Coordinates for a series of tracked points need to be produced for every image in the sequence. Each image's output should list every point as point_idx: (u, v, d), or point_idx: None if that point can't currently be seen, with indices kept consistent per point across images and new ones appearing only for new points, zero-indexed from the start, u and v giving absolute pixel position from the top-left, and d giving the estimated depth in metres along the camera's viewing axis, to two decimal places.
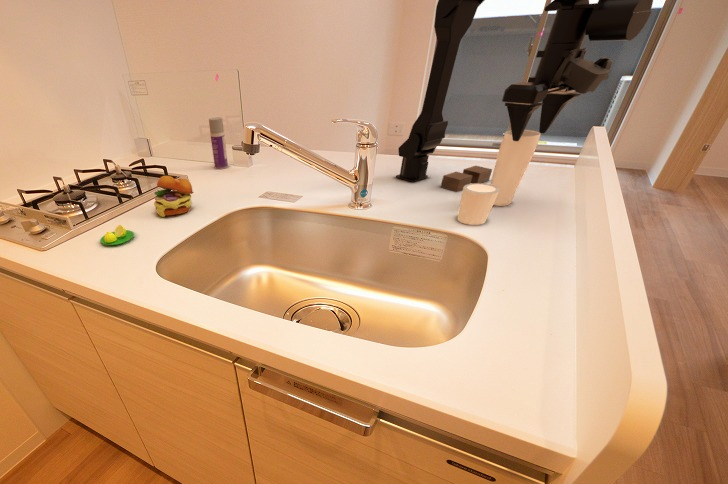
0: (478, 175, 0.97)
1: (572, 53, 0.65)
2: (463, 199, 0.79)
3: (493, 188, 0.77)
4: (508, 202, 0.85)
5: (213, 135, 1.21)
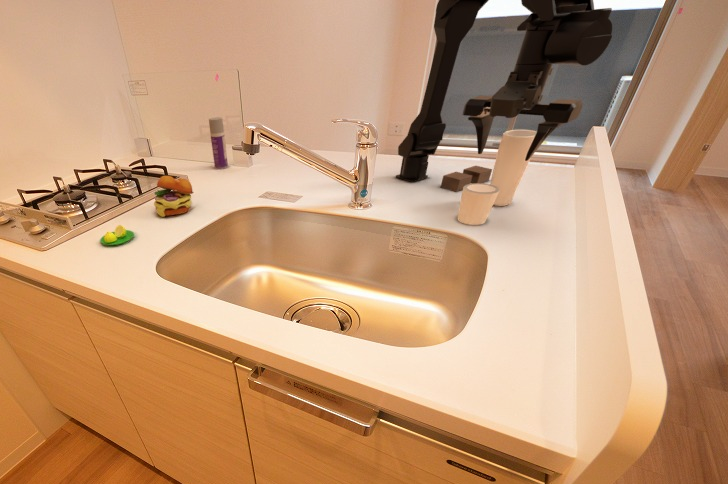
0: (478, 175, 0.97)
1: (511, 75, 0.66)
2: (463, 199, 0.79)
3: (493, 188, 0.77)
4: (508, 202, 0.85)
5: (213, 135, 1.21)
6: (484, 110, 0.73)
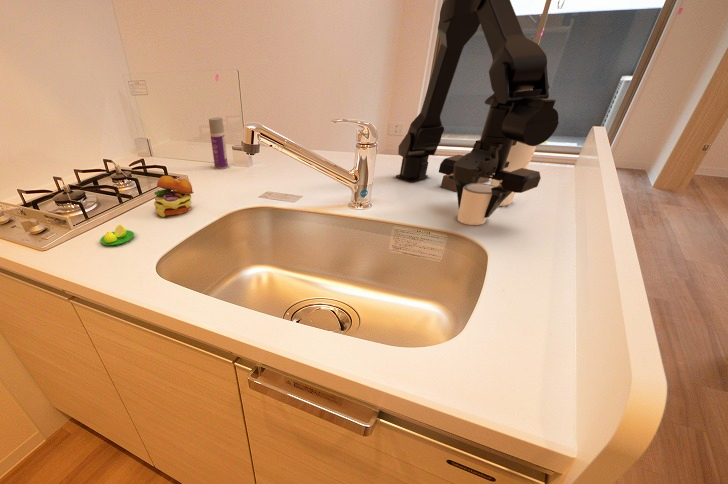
0: None
1: (476, 143, 0.72)
2: (463, 199, 0.79)
3: None
4: (508, 202, 0.85)
5: (213, 135, 1.21)
6: None
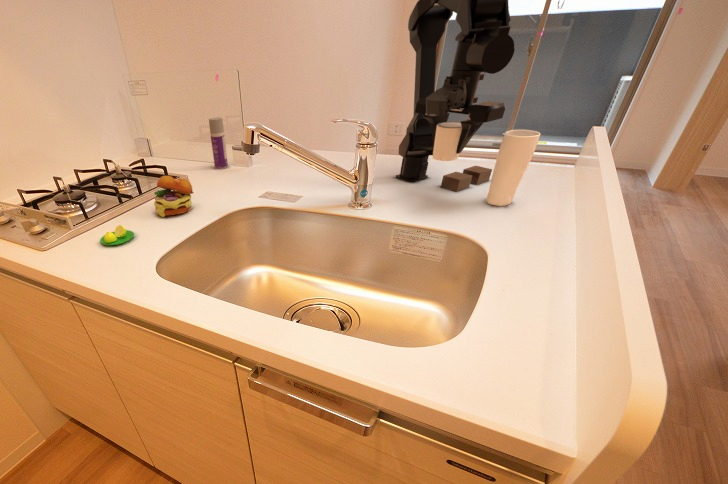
0: (478, 175, 0.97)
1: (446, 79, 0.77)
2: (436, 136, 0.84)
3: None
4: (508, 202, 0.85)
5: (213, 135, 1.21)
6: None
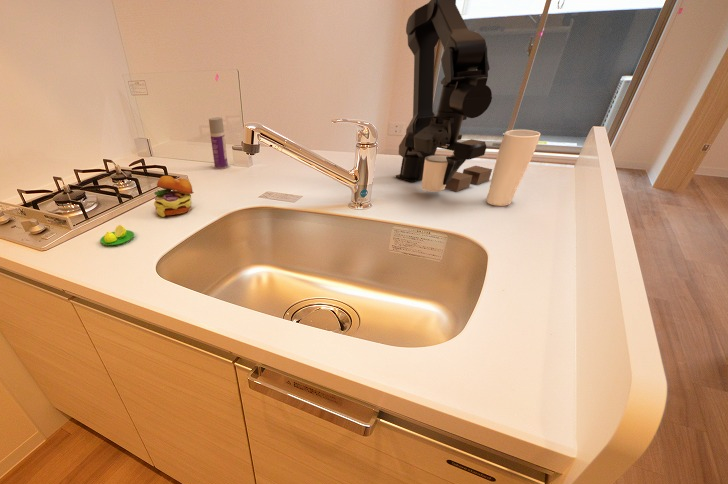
0: (478, 175, 0.97)
1: (432, 118, 0.84)
2: (424, 168, 0.90)
3: None
4: (508, 202, 0.85)
5: (213, 135, 1.21)
6: None
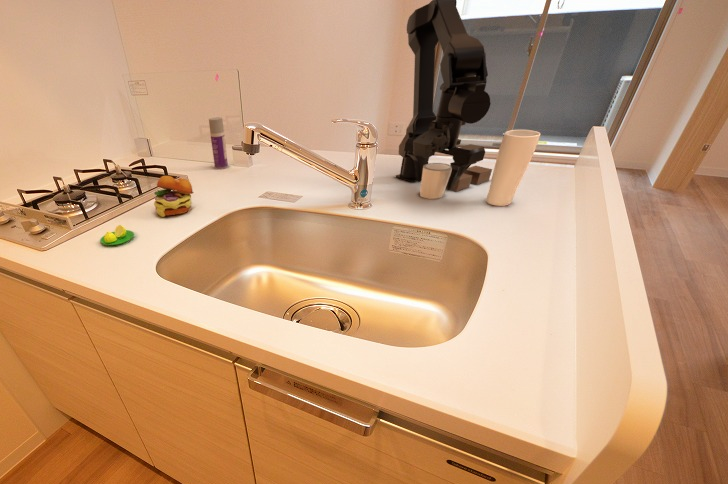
0: (478, 175, 0.97)
1: (431, 123, 0.84)
2: (423, 176, 0.92)
3: (447, 166, 0.90)
4: (508, 202, 0.85)
5: (213, 135, 1.21)
6: None
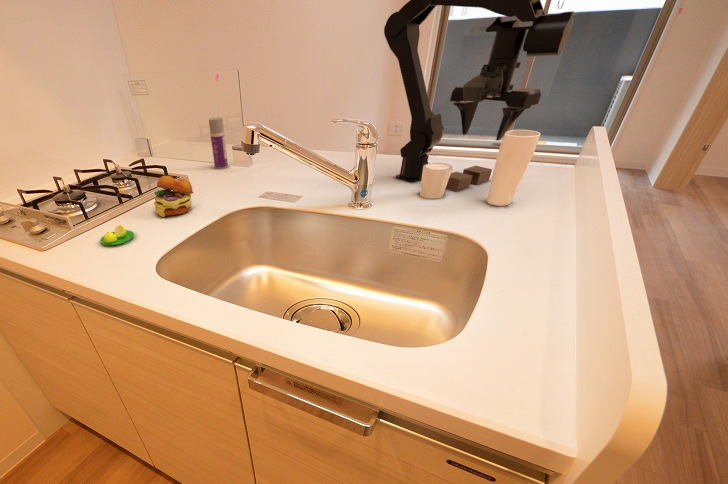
0: (478, 175, 0.97)
1: (483, 67, 0.81)
2: (423, 176, 0.92)
3: (447, 166, 0.90)
4: (508, 202, 0.85)
5: (213, 135, 1.21)
6: None
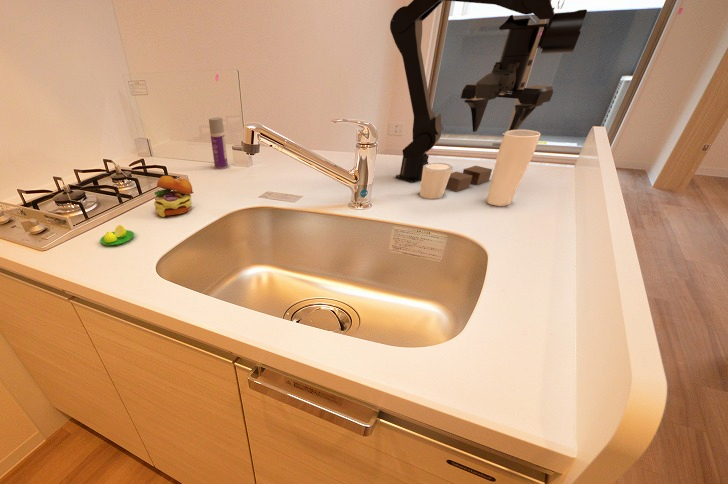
0: (478, 175, 0.97)
1: (496, 64, 0.82)
2: (423, 176, 0.92)
3: (447, 166, 0.90)
4: (508, 202, 0.85)
5: (213, 135, 1.21)
6: None
